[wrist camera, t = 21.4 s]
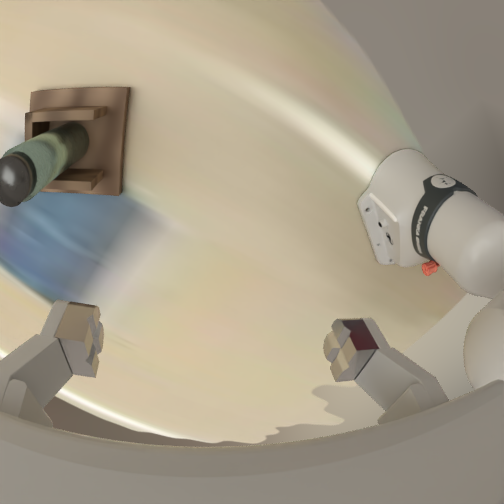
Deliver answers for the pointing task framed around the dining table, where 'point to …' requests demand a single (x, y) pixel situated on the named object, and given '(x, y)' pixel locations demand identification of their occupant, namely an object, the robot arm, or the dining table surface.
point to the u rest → (99, 131)
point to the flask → (40, 162)
